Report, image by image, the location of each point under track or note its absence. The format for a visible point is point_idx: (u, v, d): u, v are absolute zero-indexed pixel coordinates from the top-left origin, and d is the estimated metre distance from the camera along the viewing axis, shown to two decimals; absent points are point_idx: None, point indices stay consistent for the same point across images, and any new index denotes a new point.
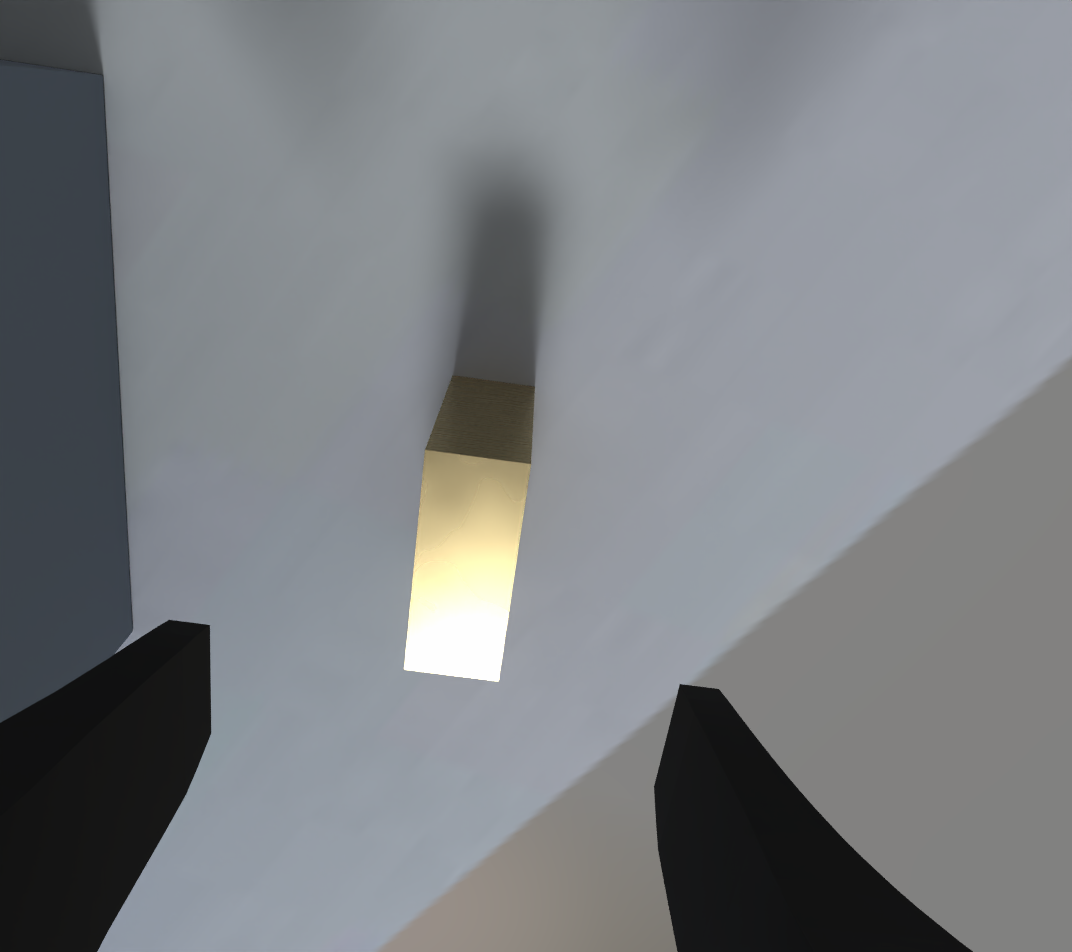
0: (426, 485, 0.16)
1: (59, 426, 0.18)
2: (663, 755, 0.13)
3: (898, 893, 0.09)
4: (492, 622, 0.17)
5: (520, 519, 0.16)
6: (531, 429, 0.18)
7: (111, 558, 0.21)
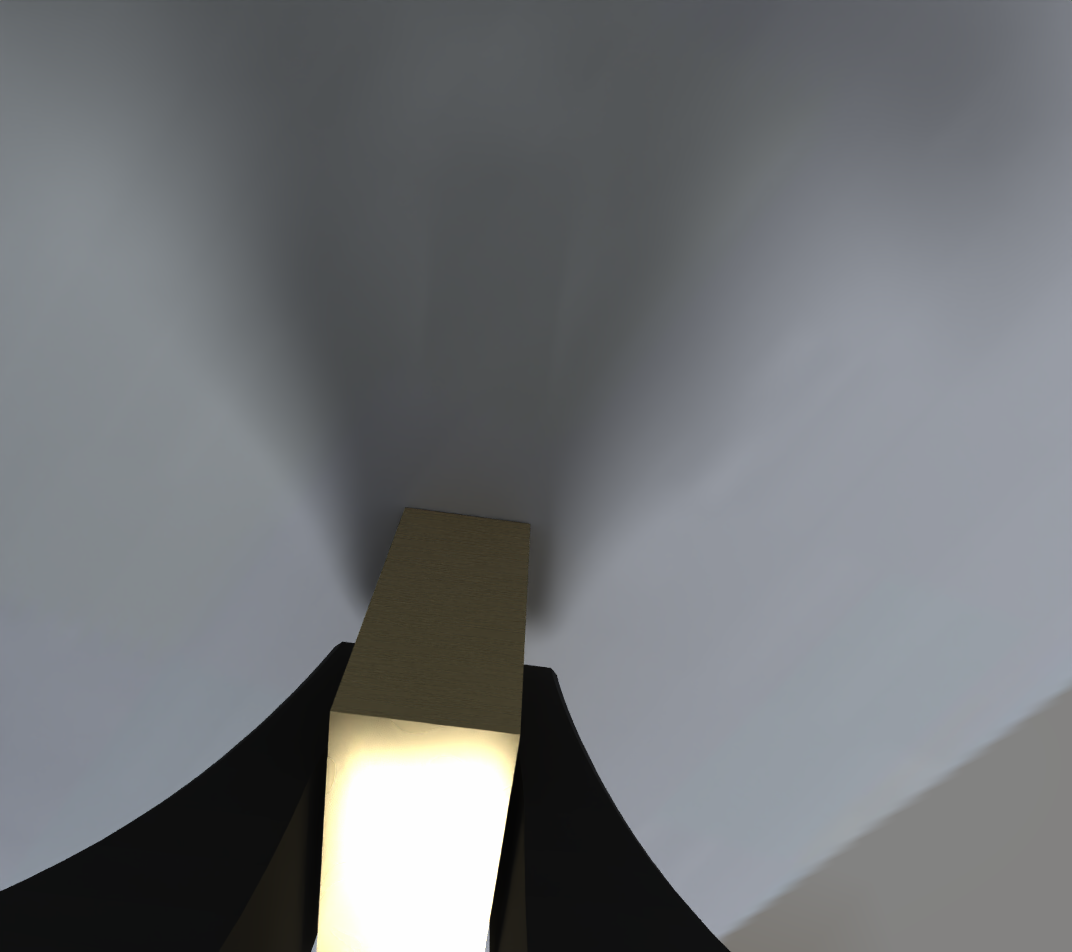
0: (335, 765, 0.09)
1: None
2: None
3: (651, 864, 0.09)
4: None
5: (502, 818, 0.09)
6: (523, 632, 0.11)
7: None
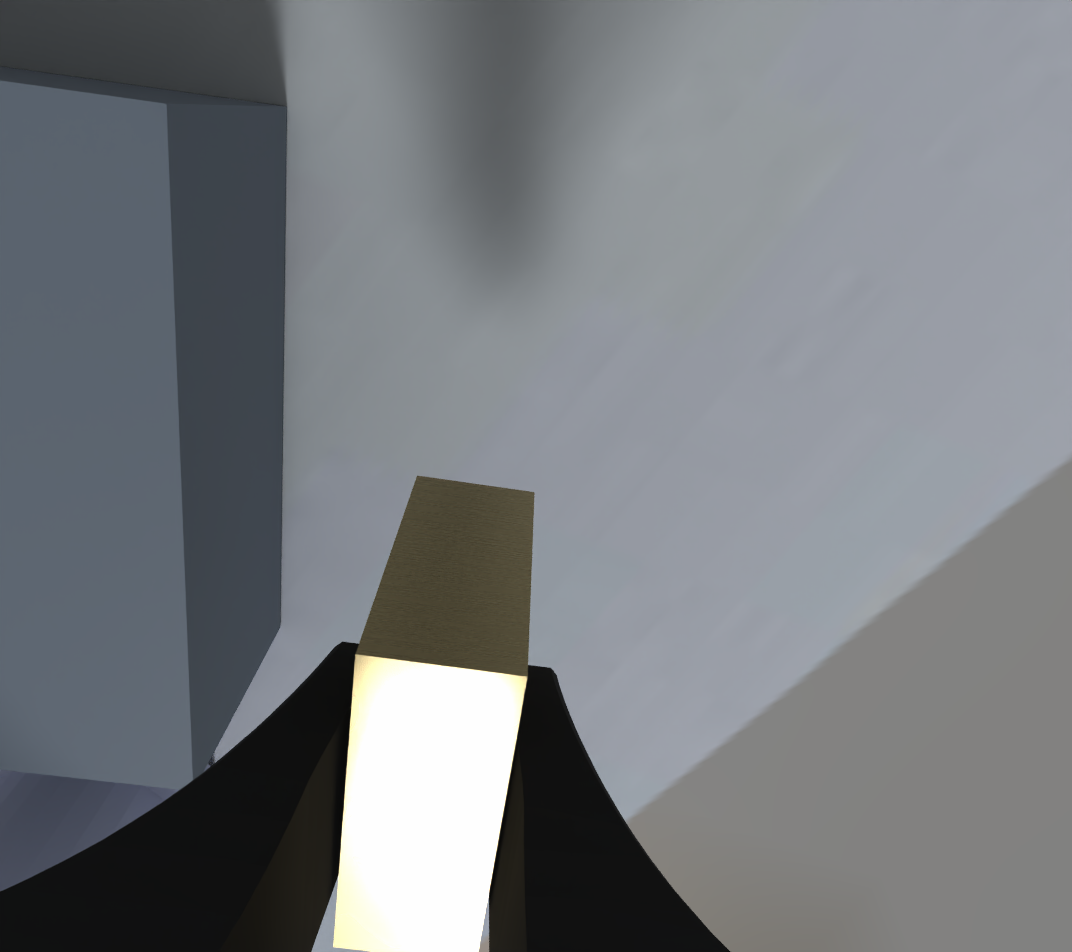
0: (359, 703, 0.10)
1: (247, 435, 0.19)
2: None
3: (650, 864, 0.09)
4: (467, 889, 0.11)
5: (510, 754, 0.10)
6: (528, 588, 0.12)
7: (271, 558, 0.23)
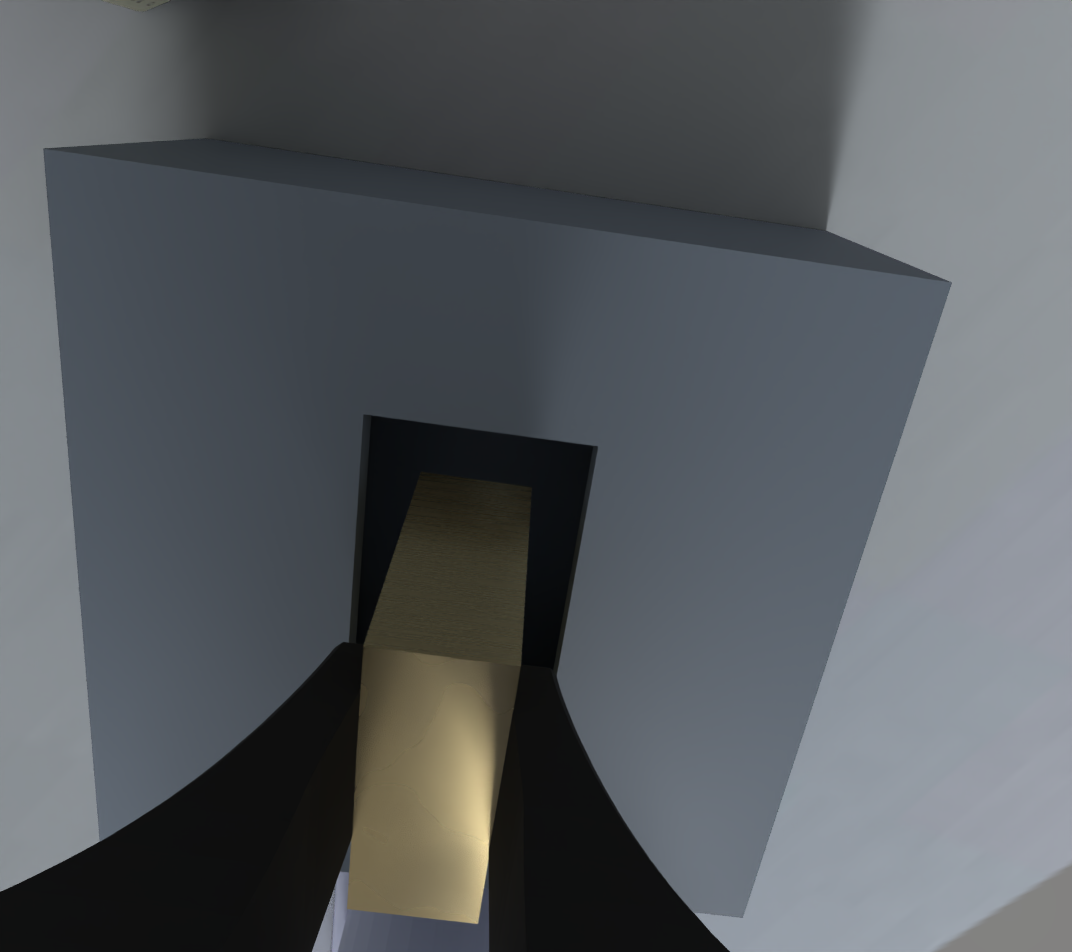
0: (367, 690, 0.11)
1: None
2: None
3: (650, 864, 0.08)
4: (468, 857, 0.12)
5: (506, 735, 0.11)
6: (524, 581, 0.12)
7: None
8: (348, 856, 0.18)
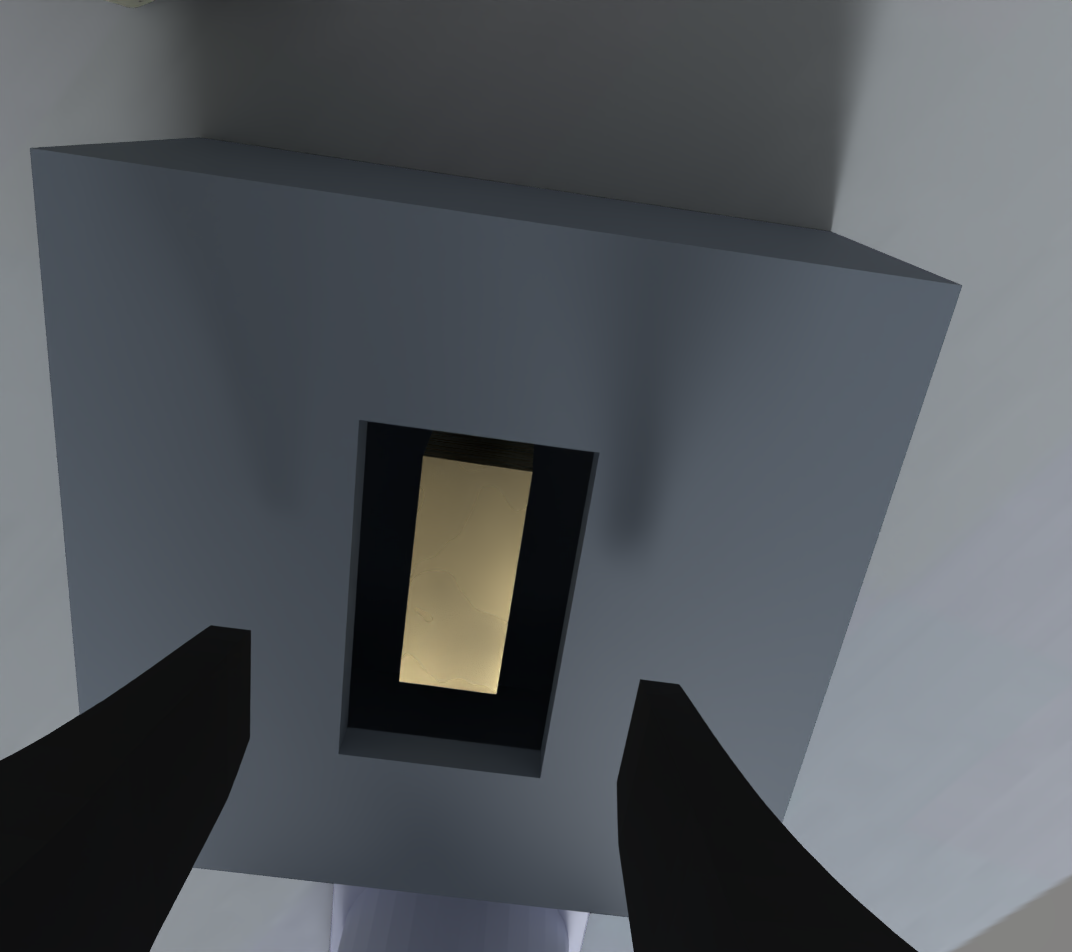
0: (424, 492, 0.16)
1: None
2: (624, 750, 0.13)
3: (840, 887, 0.09)
4: (491, 633, 0.17)
5: (521, 528, 0.16)
6: None
7: None
8: (345, 868, 0.18)
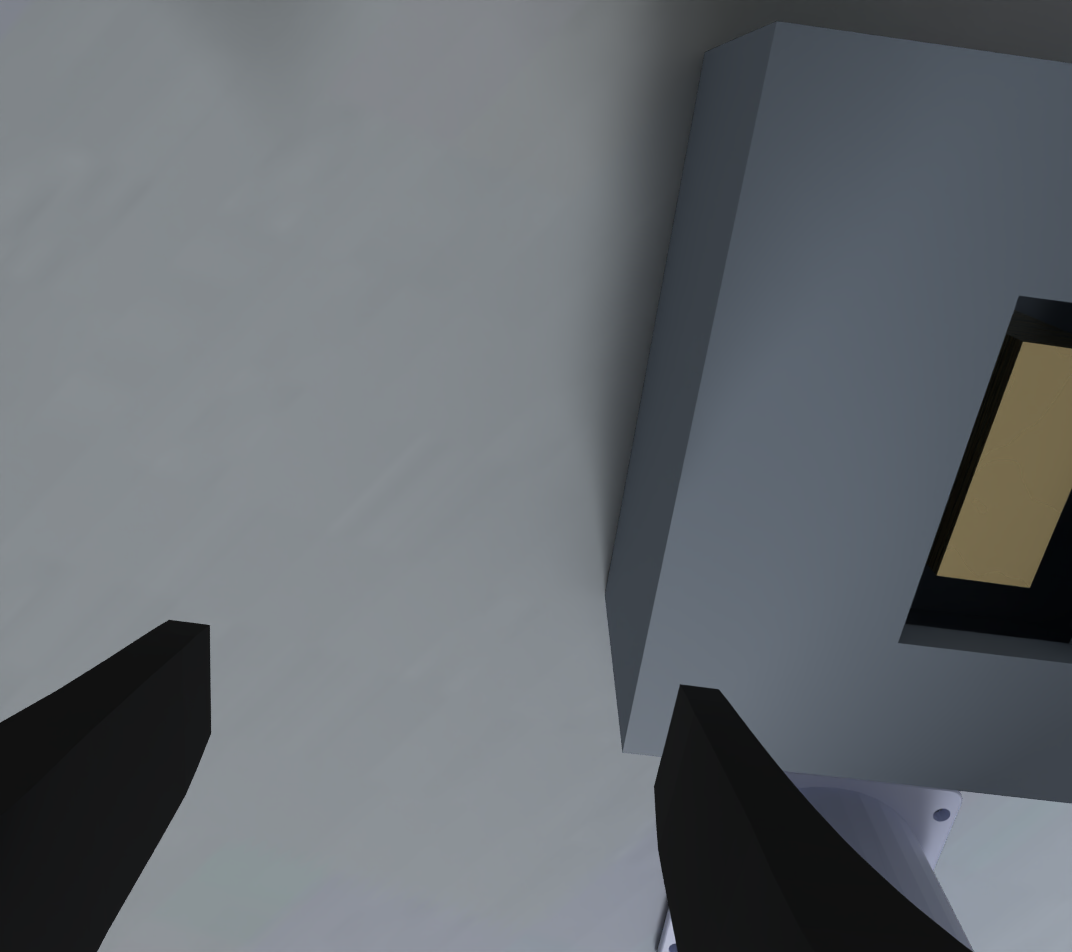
0: (1012, 379, 0.16)
1: None
2: (663, 755, 0.13)
3: (898, 893, 0.09)
4: (1041, 525, 0.17)
5: None
6: (1067, 332, 0.18)
7: None
8: (869, 762, 0.18)
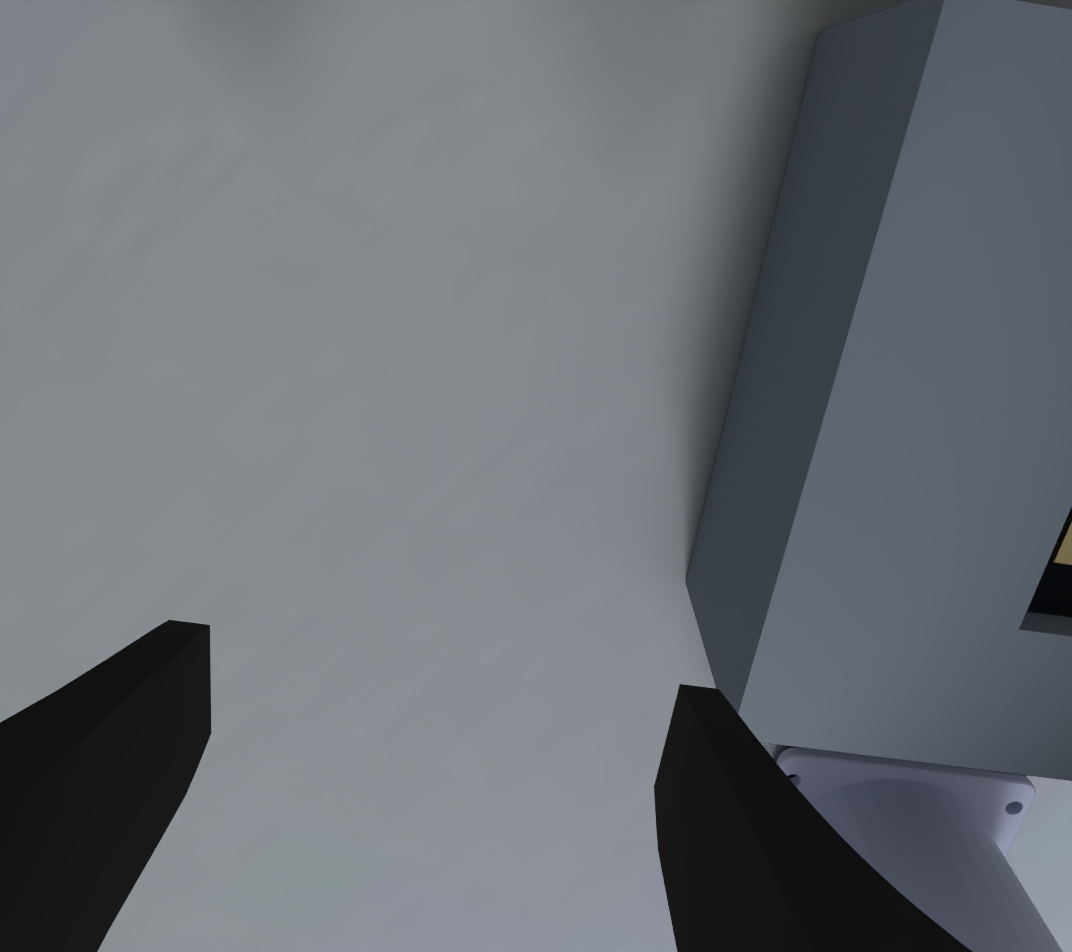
0: None
1: None
2: (663, 755, 0.13)
3: (898, 893, 0.09)
4: None
5: None
6: None
7: None
8: (980, 751, 0.18)
